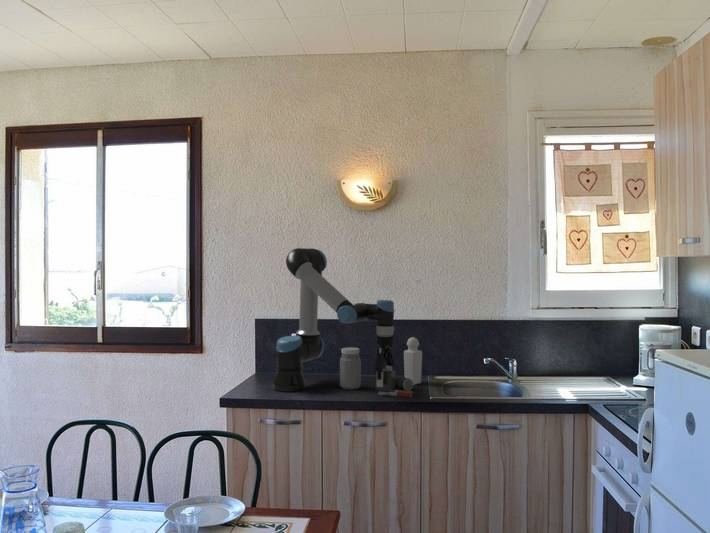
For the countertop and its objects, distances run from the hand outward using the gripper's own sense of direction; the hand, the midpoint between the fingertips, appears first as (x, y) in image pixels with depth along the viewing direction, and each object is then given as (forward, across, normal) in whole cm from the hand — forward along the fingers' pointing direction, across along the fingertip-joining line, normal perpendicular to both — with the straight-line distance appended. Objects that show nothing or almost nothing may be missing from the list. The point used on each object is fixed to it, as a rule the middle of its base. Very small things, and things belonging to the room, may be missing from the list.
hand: (384, 383), depth 238 cm
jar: (+5, +7, +19) cm, 21 cm away
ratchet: (+5, 0, -5) cm, 7 cm away
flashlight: (+5, +15, -2) cm, 16 cm away
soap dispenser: (+5, +26, -6) cm, 27 cm away
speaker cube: (+2, 0, 0) cm, 3 cm away
